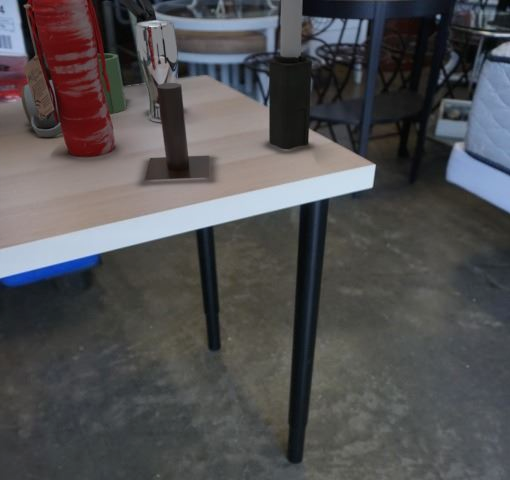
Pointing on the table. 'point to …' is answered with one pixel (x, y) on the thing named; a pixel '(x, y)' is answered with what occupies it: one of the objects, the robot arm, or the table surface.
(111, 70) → the green ring
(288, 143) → the candle
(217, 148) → the table surface
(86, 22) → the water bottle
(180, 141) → the walnut peg
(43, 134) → the ceramic mug
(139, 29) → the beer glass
